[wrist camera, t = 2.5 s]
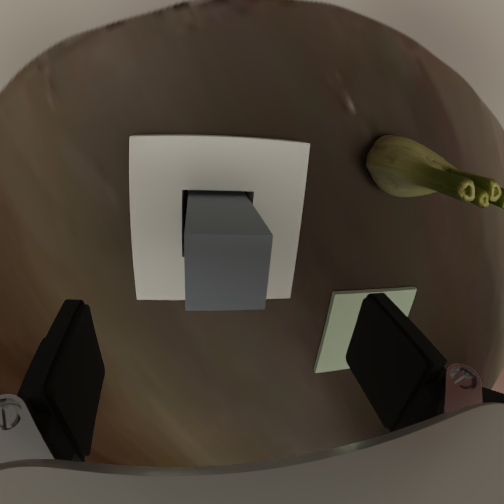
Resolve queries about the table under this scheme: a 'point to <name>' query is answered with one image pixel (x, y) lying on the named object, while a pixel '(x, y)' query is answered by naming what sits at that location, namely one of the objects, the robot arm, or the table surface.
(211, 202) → the slate plug
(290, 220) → the white square hole board
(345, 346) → the sage mat
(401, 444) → the robot arm
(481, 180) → the fennel bulb
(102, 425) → the table surface
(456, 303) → the table surface
